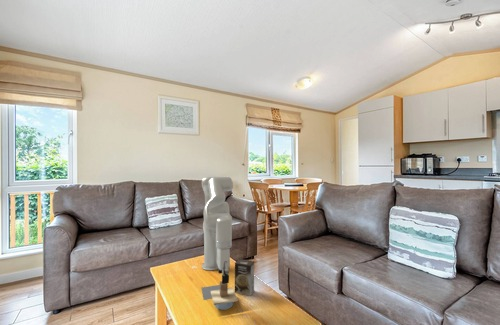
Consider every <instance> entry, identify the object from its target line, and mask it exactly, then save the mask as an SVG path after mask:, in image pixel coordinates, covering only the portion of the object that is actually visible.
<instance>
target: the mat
mask: <svg viewBox="0 0 500 325" xmlns="http://www.w3.org/2000/svg"><path fill="white" fill-rule="evenodd" d="M219 289H220V284H217V285H210V286H204V287H201V292H202V298H203V301H205V300H210V299H212V296H211V291H213V290H219Z"/></svg>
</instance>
